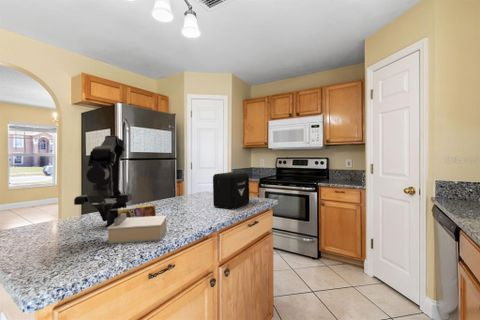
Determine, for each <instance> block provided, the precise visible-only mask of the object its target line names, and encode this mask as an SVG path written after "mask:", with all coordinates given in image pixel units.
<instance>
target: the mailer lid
mask: <svg viewBox="0 0 480 320" xmlns="http://www.w3.org/2000/svg"><path fill="white" fill-rule="evenodd" d="M167 218H168V215H156V216H149V217H131V218H126V213H123V214H121V215H120V216H119V217H117V218H116V219H114V223H113V224H112V225H110V226H107V228H106V230H109V229H121V228H138V227H154V226H161V225H162V224H163V222H164V221H165V219H166V220H167Z"/></svg>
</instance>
